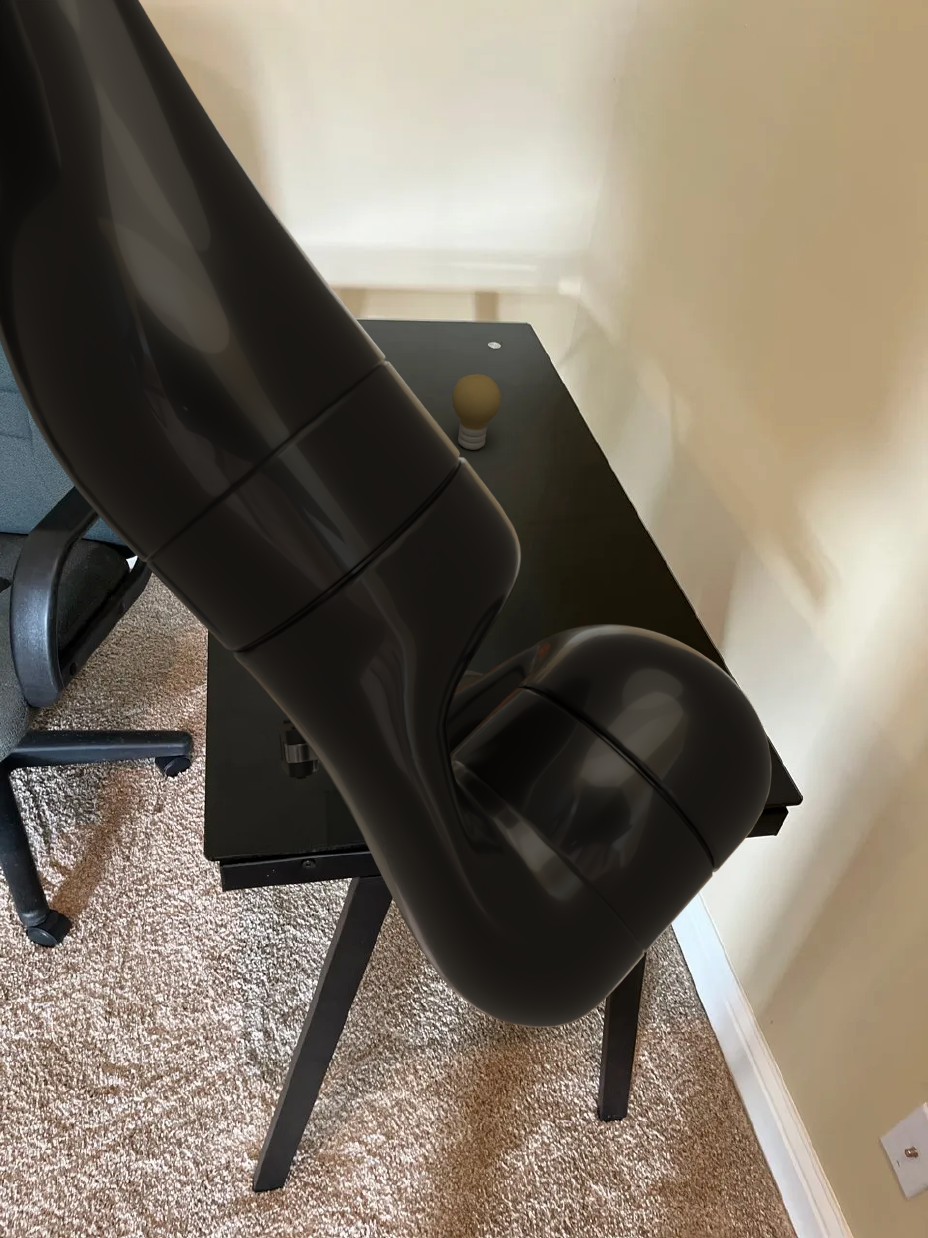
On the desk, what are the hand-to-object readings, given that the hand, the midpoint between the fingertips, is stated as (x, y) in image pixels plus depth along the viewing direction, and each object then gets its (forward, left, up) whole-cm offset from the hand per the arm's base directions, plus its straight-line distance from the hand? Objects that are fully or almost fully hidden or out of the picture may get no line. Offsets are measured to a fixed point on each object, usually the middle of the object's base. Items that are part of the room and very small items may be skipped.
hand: (389, 723), depth 54 cm
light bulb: (+23, +61, -17) cm, 67 cm away
